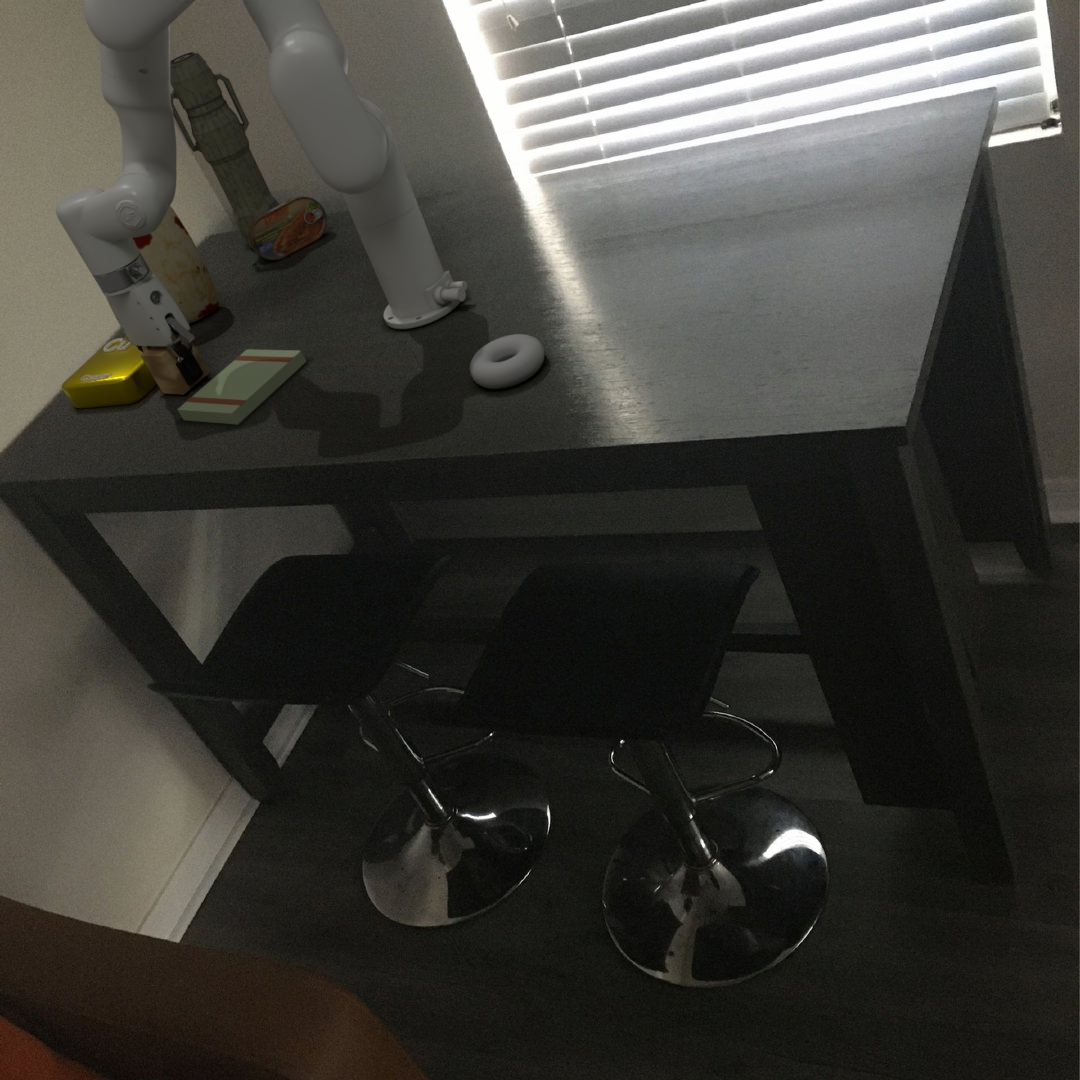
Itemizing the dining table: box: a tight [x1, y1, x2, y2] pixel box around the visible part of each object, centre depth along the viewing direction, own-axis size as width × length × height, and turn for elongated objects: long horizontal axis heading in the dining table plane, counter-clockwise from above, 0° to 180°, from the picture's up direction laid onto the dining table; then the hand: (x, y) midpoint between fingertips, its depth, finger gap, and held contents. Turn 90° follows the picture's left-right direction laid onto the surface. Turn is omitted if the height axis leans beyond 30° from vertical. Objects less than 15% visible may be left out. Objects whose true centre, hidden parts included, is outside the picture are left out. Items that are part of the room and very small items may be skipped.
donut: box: [469, 333, 545, 390], centre depth 139 cm, size 10×4×10 cm
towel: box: [176, 348, 307, 426], centre depth 160 cm, size 12×16×2 cm
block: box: [140, 335, 210, 396], centre depth 166 cm, size 5×6×7 cm
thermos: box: [170, 51, 280, 249], centre depth 201 cm, size 9×12×35 cm
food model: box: [132, 205, 220, 325], centre depth 184 cm, size 10×7×20 cm
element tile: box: [61, 336, 158, 409], centre depth 175 cm, size 15×15×5 cm
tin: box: [249, 195, 328, 261], centre depth 200 cm, size 15×3×8 cm, turn 120°
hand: (183, 378), depth 167 cm, fingers closed on block, 5 cm apart
